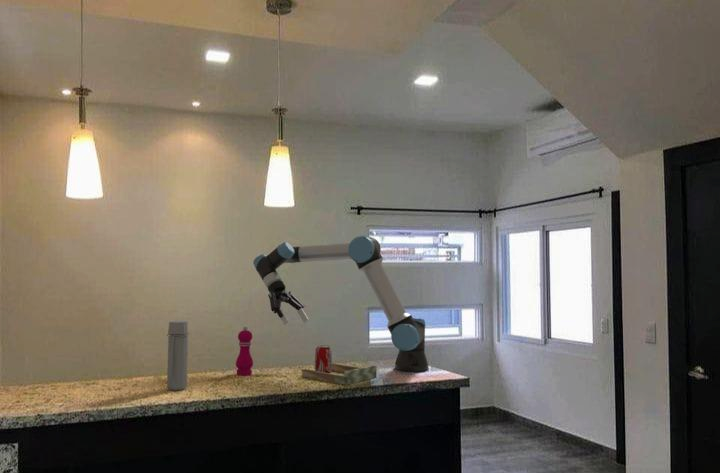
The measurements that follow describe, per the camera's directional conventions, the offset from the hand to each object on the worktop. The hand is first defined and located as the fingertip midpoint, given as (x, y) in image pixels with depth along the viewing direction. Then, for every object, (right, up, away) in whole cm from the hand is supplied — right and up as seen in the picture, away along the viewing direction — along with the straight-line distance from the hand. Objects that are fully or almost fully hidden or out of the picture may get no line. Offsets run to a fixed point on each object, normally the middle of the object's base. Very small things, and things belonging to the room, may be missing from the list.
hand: (296, 322), depth 273 cm
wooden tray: (+19, -21, -14) cm, 32 cm away
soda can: (+12, -21, -9) cm, 26 cm away
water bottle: (-40, -19, -44) cm, 63 cm away
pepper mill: (-21, -21, -12) cm, 32 cm away
